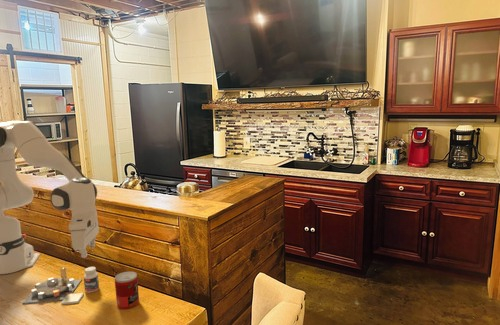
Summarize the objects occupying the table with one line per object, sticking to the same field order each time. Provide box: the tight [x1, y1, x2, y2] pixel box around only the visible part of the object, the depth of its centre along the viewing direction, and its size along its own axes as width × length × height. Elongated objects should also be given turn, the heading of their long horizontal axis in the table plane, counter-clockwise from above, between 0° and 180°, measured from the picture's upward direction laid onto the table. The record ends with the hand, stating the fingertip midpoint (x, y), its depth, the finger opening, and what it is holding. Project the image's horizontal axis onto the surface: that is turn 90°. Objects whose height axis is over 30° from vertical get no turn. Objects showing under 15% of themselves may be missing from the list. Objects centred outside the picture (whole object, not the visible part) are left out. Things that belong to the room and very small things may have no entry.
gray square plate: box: [22, 279, 82, 305], centre depth 141 cm, size 16×17×1 cm
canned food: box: [114, 271, 140, 310], centre depth 129 cm, size 8×8×11 cm
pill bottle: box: [83, 266, 100, 293], centre depth 141 cm, size 5×5×9 cm
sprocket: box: [31, 266, 75, 299], centre depth 140 cm, size 15×15×9 cm
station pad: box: [60, 292, 84, 306], centre depth 134 cm, size 6×6×1 cm
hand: (88, 252), depth 139 cm, fingers open, 8 cm apart
